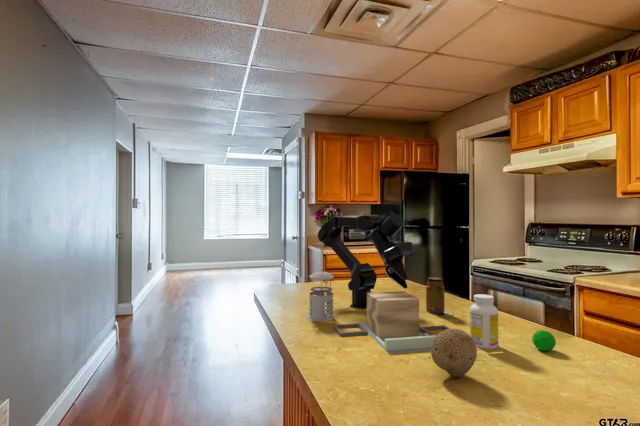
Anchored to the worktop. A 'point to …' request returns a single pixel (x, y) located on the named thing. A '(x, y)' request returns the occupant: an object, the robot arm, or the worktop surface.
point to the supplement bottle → (484, 322)
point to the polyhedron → (543, 340)
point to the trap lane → (396, 338)
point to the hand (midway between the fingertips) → (406, 284)
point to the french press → (321, 297)
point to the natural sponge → (454, 352)
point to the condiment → (435, 297)
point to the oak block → (393, 314)
